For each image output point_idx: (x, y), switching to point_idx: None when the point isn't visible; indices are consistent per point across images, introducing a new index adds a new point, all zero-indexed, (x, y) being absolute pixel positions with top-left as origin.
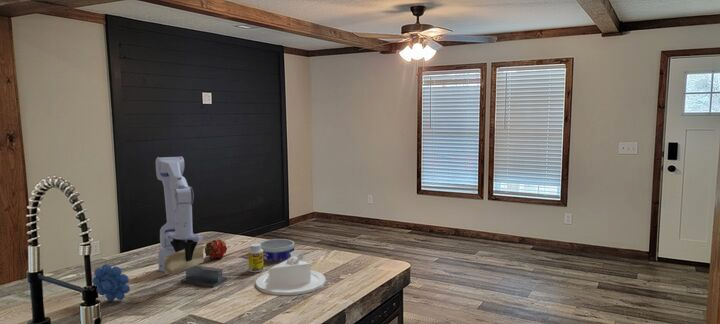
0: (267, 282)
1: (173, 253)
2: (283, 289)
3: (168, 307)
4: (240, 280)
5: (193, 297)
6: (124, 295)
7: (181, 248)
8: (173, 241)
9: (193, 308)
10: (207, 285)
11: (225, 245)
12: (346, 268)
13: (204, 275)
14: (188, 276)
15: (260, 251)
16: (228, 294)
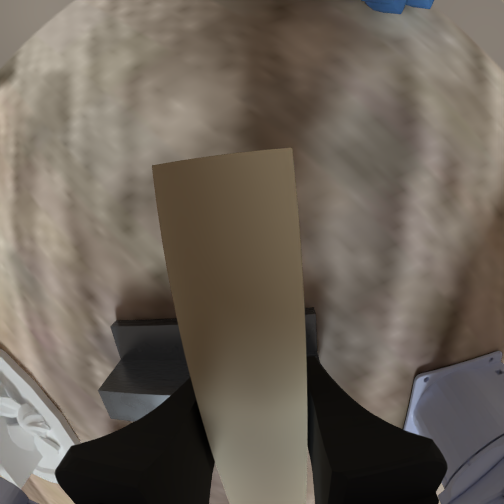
0: (28, 403)
1: (299, 331)
2: None
3: (107, 51)
4: (104, 411)
5: (93, 184)
6: (369, 2)
7: (313, 460)
8: (404, 490)
9: (26, 109)
10: (143, 322)
11: None
12: (25, 487)
13: (189, 373)
14: None
15: None
16: (23, 280)
